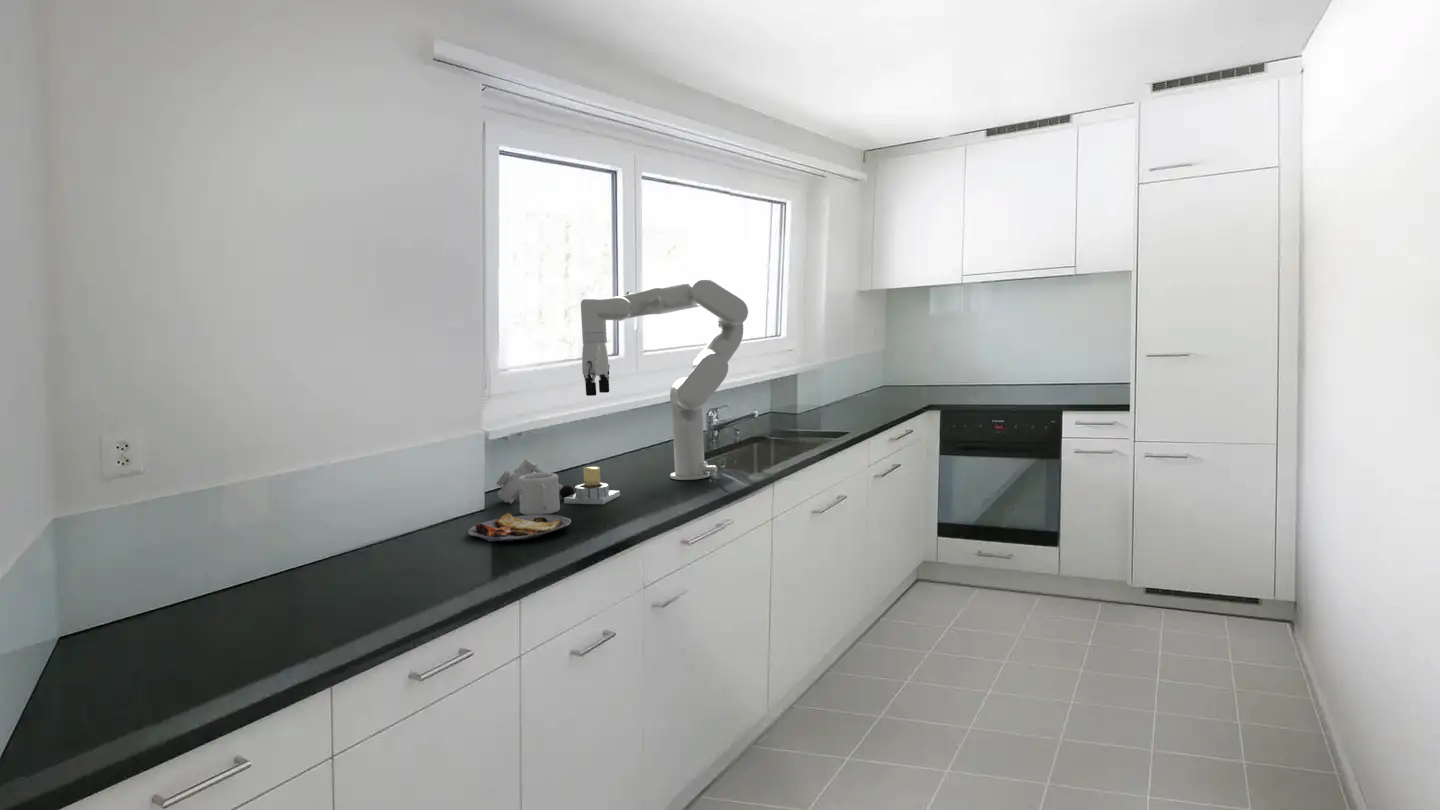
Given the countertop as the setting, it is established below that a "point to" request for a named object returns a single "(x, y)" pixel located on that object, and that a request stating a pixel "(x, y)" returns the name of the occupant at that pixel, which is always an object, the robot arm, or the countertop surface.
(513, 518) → the food plate
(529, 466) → the valve
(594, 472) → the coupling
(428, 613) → the countertop surface
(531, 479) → the mug
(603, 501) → the flange plate
